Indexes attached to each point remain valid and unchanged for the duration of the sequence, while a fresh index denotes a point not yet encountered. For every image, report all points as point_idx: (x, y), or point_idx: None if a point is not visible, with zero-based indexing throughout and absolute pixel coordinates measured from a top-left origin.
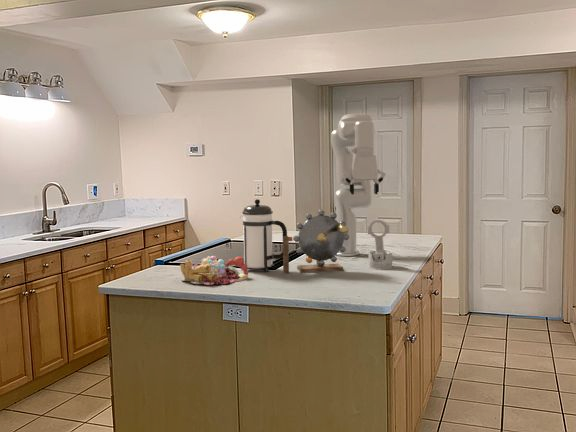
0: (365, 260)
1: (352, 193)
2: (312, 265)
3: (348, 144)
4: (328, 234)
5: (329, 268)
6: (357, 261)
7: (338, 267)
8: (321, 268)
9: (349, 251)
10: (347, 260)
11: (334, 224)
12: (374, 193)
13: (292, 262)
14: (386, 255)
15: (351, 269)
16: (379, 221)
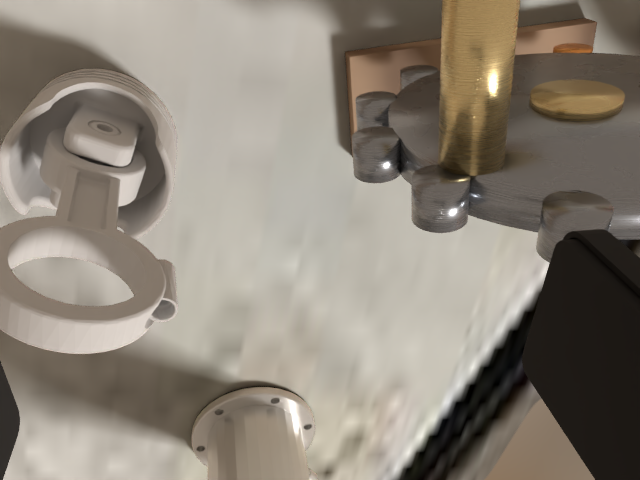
0: (178, 305)
1: (608, 233)
2: None
3: None
4: (535, 122)
5: (431, 44)
6: (223, 283)
7: (378, 52)
8: None
9: (246, 414)
10: (271, 306)
11: (525, 166)
12: (11, 394)
13: (535, 270)
14: (47, 99)
15: (290, 81)
16: (47, 304)
